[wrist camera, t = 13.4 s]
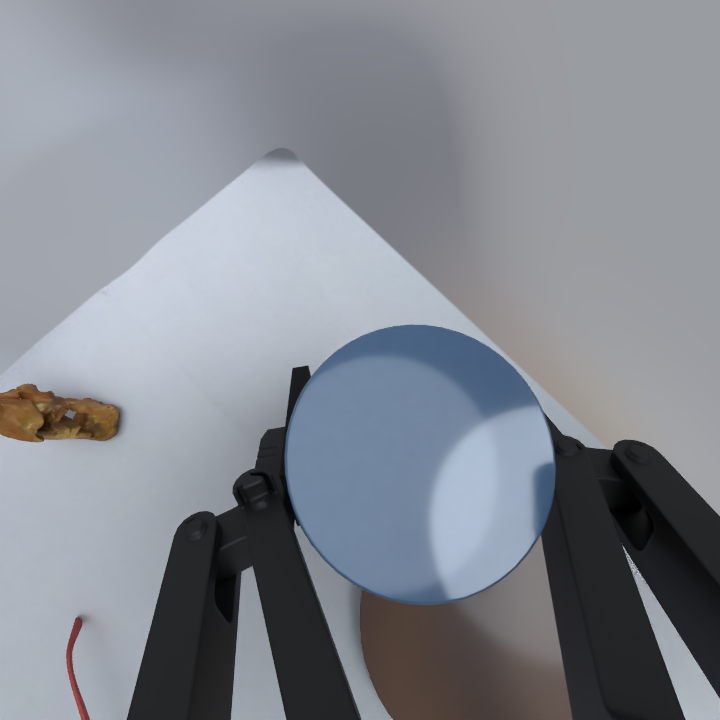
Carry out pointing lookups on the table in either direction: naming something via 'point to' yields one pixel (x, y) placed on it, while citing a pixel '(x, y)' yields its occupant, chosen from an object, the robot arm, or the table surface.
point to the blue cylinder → (420, 464)
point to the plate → (470, 652)
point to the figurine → (54, 416)
